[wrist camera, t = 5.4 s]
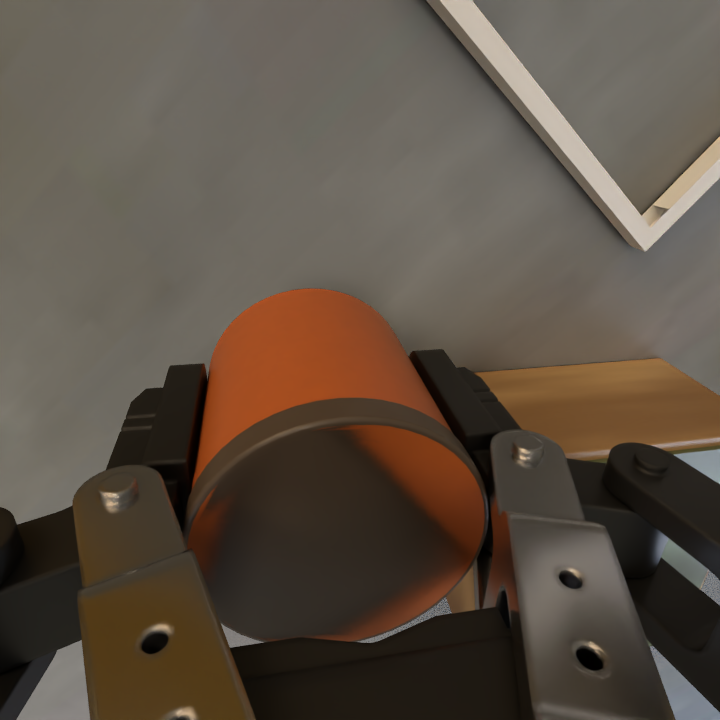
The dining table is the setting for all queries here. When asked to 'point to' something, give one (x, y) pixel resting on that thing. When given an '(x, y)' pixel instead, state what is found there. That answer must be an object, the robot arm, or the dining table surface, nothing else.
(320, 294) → the orange tin
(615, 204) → the photo frame
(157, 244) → the dining table surface
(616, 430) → the riser block
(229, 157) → the dining table surface
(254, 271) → the dining table surface
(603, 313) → the dining table surface
